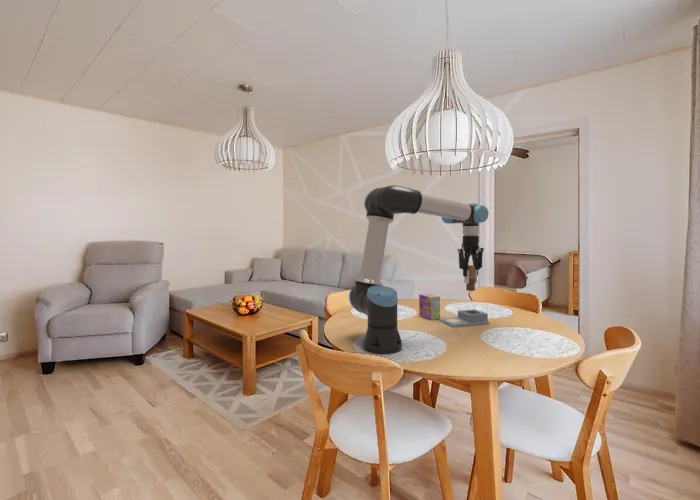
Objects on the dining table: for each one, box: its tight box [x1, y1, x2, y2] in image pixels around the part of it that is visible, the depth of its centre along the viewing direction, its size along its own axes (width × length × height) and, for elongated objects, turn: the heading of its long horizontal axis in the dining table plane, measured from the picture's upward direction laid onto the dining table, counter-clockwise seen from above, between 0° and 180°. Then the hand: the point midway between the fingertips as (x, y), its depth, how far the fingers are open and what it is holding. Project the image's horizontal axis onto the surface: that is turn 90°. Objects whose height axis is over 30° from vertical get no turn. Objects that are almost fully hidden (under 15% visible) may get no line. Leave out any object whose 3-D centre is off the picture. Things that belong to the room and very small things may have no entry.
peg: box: [465, 264, 476, 292], centre depth 171 cm, size 4×4×12 cm
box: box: [418, 292, 441, 321], centre depth 181 cm, size 10×6×12 cm, turn 25°
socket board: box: [438, 309, 490, 328], centre depth 171 cm, size 12×20×5 cm, turn 106°
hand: (470, 282), depth 171 cm, fingers closed on peg, 4 cm apart
